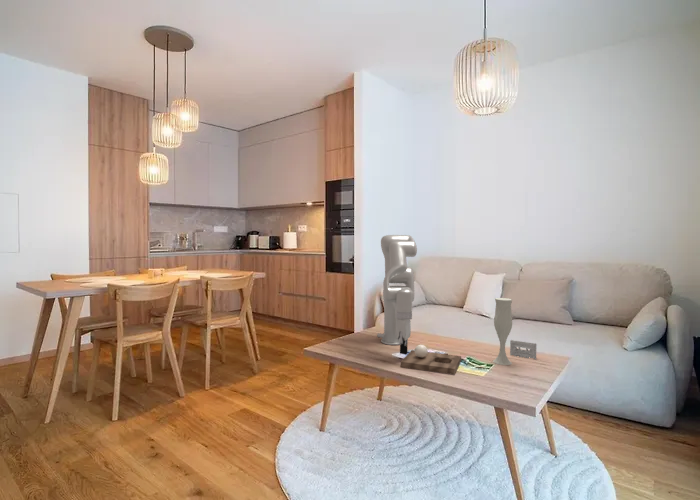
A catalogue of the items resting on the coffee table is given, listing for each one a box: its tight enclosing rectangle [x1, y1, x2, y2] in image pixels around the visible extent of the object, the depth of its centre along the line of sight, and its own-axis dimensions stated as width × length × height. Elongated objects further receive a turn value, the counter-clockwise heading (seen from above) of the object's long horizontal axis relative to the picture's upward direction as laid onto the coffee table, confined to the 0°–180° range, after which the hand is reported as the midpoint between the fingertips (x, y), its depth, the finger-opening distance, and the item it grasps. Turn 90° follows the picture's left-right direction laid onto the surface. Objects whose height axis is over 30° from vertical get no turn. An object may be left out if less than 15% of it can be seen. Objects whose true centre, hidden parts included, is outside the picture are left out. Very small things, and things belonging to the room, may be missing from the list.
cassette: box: [509, 339, 538, 360], centre depth 195 cm, size 12×2×8 cm, turn 56°
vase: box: [492, 297, 513, 366], centre depth 186 cm, size 9×8×30 cm
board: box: [400, 349, 462, 376], centre depth 183 cm, size 24×20×2 cm
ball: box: [414, 344, 429, 358], centre depth 185 cm, size 6×6×6 cm
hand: (403, 353), depth 189 cm, fingers closed
